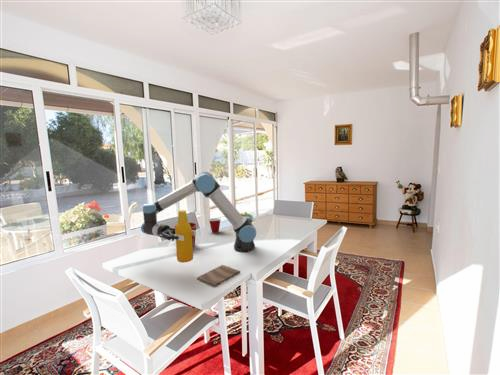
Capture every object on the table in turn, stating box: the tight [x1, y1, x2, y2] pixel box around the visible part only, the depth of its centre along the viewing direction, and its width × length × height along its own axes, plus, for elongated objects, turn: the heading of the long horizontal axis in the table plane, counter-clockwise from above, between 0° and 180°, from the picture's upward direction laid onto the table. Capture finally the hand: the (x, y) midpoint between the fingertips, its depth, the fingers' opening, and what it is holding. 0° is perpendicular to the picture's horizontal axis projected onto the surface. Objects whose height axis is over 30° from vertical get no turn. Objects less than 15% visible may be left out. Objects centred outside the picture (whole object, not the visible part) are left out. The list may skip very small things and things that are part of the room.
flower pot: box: [173, 222, 198, 248], centre depth 197 cm, size 16×16×16 cm
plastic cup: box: [208, 217, 222, 234], centre depth 229 cm, size 11×11×12 cm
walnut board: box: [196, 264, 241, 288], centre depth 149 cm, size 20×14×1 cm
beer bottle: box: [175, 209, 194, 263], centre depth 152 cm, size 9×9×29 cm
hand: (189, 235), depth 150 cm, fingers closed on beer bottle, 9 cm apart
